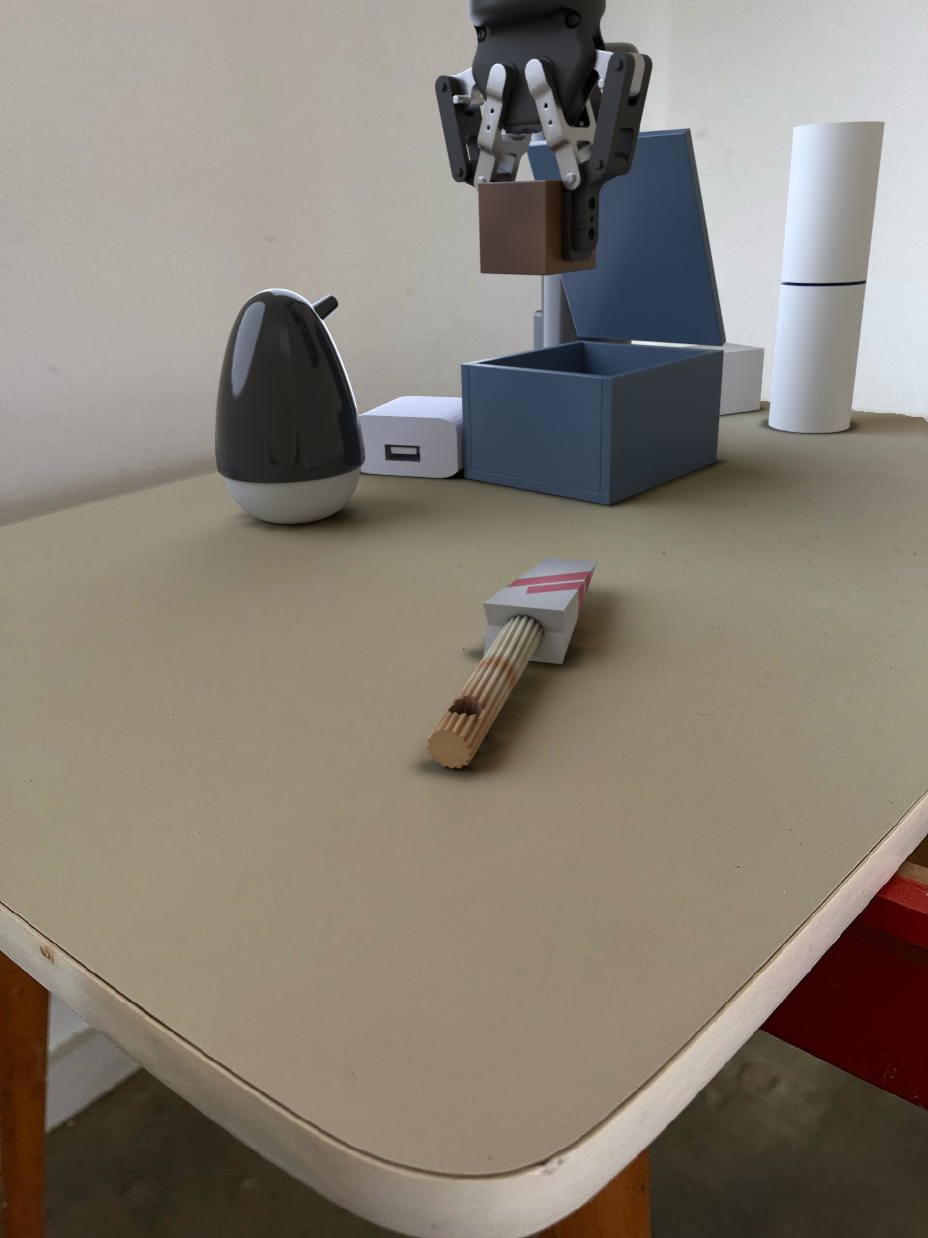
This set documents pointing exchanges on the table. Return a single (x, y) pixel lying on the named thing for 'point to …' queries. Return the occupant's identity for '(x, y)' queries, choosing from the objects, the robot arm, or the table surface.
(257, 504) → the pump dispenser
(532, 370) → the blue storage bin
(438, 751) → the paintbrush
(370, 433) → the charger
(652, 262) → the lid
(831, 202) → the cylindrical container
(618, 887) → the table surface
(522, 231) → the block
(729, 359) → the white cube
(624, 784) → the table surface
